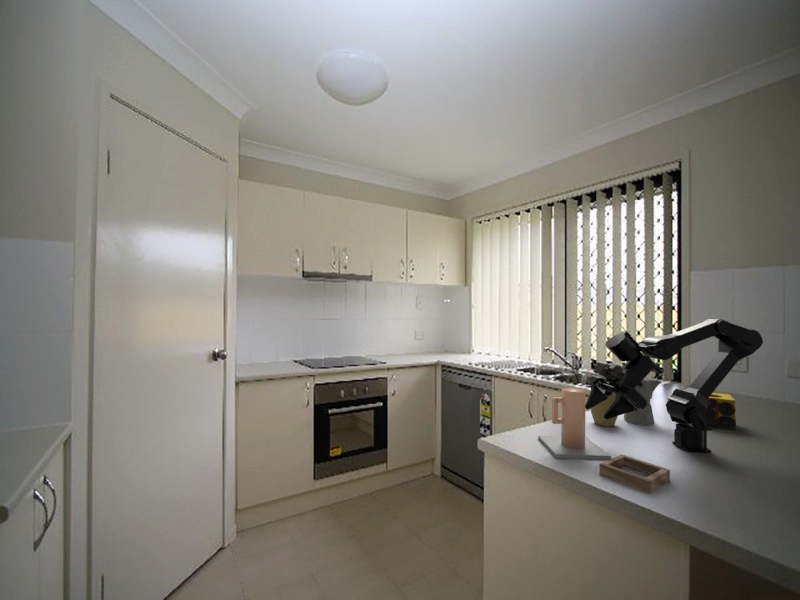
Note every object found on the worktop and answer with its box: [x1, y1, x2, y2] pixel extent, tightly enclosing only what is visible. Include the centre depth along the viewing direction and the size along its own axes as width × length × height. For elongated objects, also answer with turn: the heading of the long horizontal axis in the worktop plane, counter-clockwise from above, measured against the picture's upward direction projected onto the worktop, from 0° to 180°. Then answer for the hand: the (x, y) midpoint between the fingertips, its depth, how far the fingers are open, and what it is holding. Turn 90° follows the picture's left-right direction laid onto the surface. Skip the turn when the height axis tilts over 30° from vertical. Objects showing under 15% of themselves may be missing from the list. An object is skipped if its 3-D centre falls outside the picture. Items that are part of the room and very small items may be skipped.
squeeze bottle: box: [590, 375, 619, 427], centre depth 125 cm, size 8×8×18 cm
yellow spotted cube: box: [705, 392, 737, 431], centre depth 126 cm, size 10×10×10 cm
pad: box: [537, 435, 612, 460], centre depth 102 cm, size 14×14×1 cm
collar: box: [598, 454, 671, 494], centre depth 85 cm, size 10×10×2 cm
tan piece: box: [551, 387, 586, 449], centre depth 102 cm, size 9×6×15 cm
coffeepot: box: [623, 375, 663, 426], centre depth 129 cm, size 15×9×18 cm, turn 44°
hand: (594, 413), depth 103 cm, fingers open, 9 cm apart
